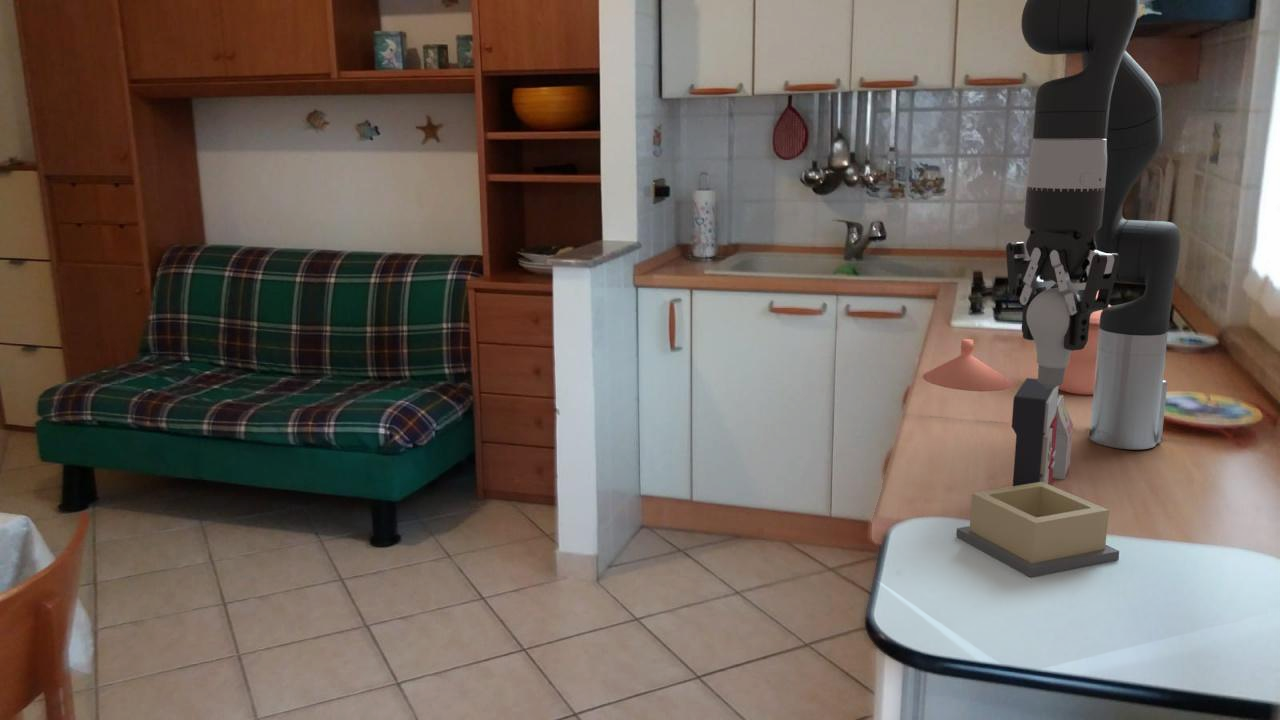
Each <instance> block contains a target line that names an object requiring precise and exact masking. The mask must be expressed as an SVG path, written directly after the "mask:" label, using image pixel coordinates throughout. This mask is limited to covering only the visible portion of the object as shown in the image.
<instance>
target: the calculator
mask: <svg viewBox="0 0 1280 720" xmlns="http://www.w3.org/2000/svg"><path fill="white" fill-rule="evenodd" d="M1058 398H1059V389H1058V386H1056V387H1055V388H1054V389H1047V388H1045V387H1044V385H1042V384H1040V383H1039V381H1038V378H1028V377H1027V378H1025V380H1024V382H1023V383H1022V384H1021V386H1020V388H1019V389H1018V391H1017V392H1016V393H1015V395H1014V396H1013V403H1012V404H1013V405H1012V417H1011V418H1012V419H1011V428H1012V430H1013V431H1014V433H1015V435H1016V437H1015V449H1014V461H1013V462H1014V464H1013V476H1012V486H1018V485H1024V484H1030V483H1037V482H1044V483H1046V484H1049V485H1051V486H1053V479H1054V478H1053V467H1054V464H1055V461H1054V456H1055V454H1056V451H1055V443H1056V431H1057V417H1055V415H1056V411H1057V400H1058Z"/></svg>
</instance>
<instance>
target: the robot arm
mask: <svg viewBox="0 0 1280 720" xmlns="http://www.w3.org/2000/svg"><path fill="white" fill-rule="evenodd" d="M1153 1H1154V0H1026V2H1025V4H1024V7H1023V10H1022V15H1021V32H1022V36H1023V39H1024V40H1025V43H1026V44H1027V45H1028V47H1029V48H1031V50H1033V51H1034V52H1036V53H1039V54H1041V55H1049V56H1050V55H1054V56H1055V55H1067V54H1068V55H1069V54H1070V55H1072V54H1075V55H1076V54H1081V63H1082V70H1081V71H1080V72H1077V73H1075V74H1071V75H1069V76H1065V77H1059V78H1056V79H1050V80H1049V81H1046V82H1044V83H1042V84H1041V85H1040V86H1039V87H1038V89H1037V92H1036V97H1035V103H1034V104H1035V105H1034V120H1033V132H1032V133H1033V134H1032V138H1033V140H1032V143H1031V150H1030V153H1029V158H1028V159H1029V160H1028V166H1027V178H1026V179H1027V181H1026V192H1025V193H1026V194H1025V204H1024V205H1025V206H1024V218H1023V219H1024V220H1023V223H1024V227H1025V228H1026V229H1027V230H1029V231H1030V233H1029V235H1028V238H1027V239H1026V241H1017V242H1016V241H1014V242H1008V243H1006V246H1005V254H1006V268H1007V283H1008V295H1009V296H1010V297H1011V298H1017V299H1018V300H1019V302H1020V304H1021V305H1022V320H1021V332H1022V338H1023V339H1024V340H1027V341H1034V338H1033V336H1032V334H1031V332H1030V329H1029V327H1028V324H1027V318H1026V315H1027V310H1028V307H1029V305H1030V303H1031V301H1032V300H1033V299H1034V298H1035V297H1036V296H1037V295H1038V294H1039V293H1041V292H1043V291H1045V290H1048V289H1051V288H1052V287H1054V286H1055V285H1056V283H1057V286H1058V287H1057V288H1059V291H1060V293H1061V294H1063V295H1064V297H1065V301H1066V306H1067V310H1068V313H1069V314H1070V315H1069V319H1070V321H1069V327H1068V330H1067V332H1066V334H1065V336H1064V348H1065V349H1067V350H1071V351H1073V350H1081V349H1083V348H1084V347H1085V345H1086V343H1087V341H1088V332H1089V321H1090V315H1091V314H1092V313H1093V312H1096V311H1100V310H1103V311H1102V312H1101V315H1100V324H1099V335H1098V346H1097V347H1098V348H1097V358H1096V369H1095V380H1094V391H1093V395H1092V404H1091V415H1090V423H1089V424H1090V426H1089V439H1090V441H1092V442H1094V443H1096V444H1098V445H1101V446H1105V447H1108V448H1115V449H1122V450H1123V449H1124V450H1148V449H1151V448H1154V447H1156V445H1157V444H1161V443H1162V438H1163V429H1164V420H1165V410H1166V400H1167V399H1166V398H1167V391H1168V382H1167V380H1164V374H1165V364H1166V354H1167V345H1168V344H1167V343H1168V334H1169V325H1170V319H1171V312H1172V303H1173V295H1174V294H1173V293H1174V287H1175V282H1176V275H1177V270H1178V264H1179V258H1180V250H1181V235H1180V231H1179V228H1178V226H1177V225H1176V224H1175V223H1173V222H1171V221H1170V222H1169V221H1161V220H1160V221H1159V220H1157V221H1156V220H1140V219H1139V220H1138V219H1137V220H1134V219H1125V218H1124V216H1123V206H1124V205H1123V204H1124V202H1125V200H1126V198H1127V197H1128V195H1129V193H1130V191H1131V190H1132V188H1133V186H1134V185H1135V184H1136V182H1137V181H1138V180H1139V178H1140V177H1141V176H1142V175H1143V173H1144V172H1145V171H1146V169H1147V168H1148V167H1149V165H1150V164H1151V163H1152V161H1153V159H1154V158H1155V157H1156V155H1157V153H1158V151H1159V149H1160V147H1161V144H1162V141H1163V118H1162V117H1163V116H1162V114H1163V112H1162V97H1161V94H1160V92H1159V89H1158V87H1157V85H1156V84H1155V83H1154V80H1152V78H1151V77H1150V76H1149V74H1148V73H1147V72H1146V71H1145V70H1144V69H1143V68H1142V67H1141V66H1140V64H1139V63H1137V61H1136V60H1135V59H1134V58H1133V57H1132V56H1131V55H1130V54H1129V53H1128V52H1127V50H1126V49H1127V46H1128V44H1129V42H1130V40H1131V36H1132V34H1133V31H1134V29H1135V26H1136V23H1137V19H1138V17H1139V16H1138V15H1139V10H1140V5H1143V4H1147V3H1150V2H1153ZM1020 275H1021V282H1022V283H1021V284H1020V277H1019V276H1020ZM1077 281H1078V282H1079V283H1077ZM1115 283H1120V284H1121V283H1122V284H1130V285H1143V286H1144V285H1145V290H1144V292H1143V294H1142V295H1141V296H1140V297H1137V298H1136V299H1134V300H1131V301H1129V302H1125V303H1121V304H1114V305H1111V306H1110V307H1108V305H1110V301H1111V297H1112V294H1113V289H1114V286H1115ZM1098 290H1099V292H1098ZM1097 292H1098V297H1097V299H1096V295H1097ZM1076 293H1077V294H1078V295H1079V297H1080V302H1078V299H1077V294H1076Z"/></svg>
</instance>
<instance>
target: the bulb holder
mask: <svg viewBox="0 0 1280 720" xmlns="http://www.w3.org/2000/svg"><path fill="white" fill-rule="evenodd" d="M970 505H971V507H970V519H969V520H970V521H969V525H968V526H963V527H957V528H956V533H955V534H956V536H957V537H956V538H958V537H959V538H958V539H959V540H961V539H962V541H964V542H965V543H967V544H969V545H971V546H973V547H974V548H976V549H978V550H979V551H982V552H983V553H985V554H987V555H989V556H991V557H992V558H994V559H996V560H998V561H1000V562H1002V563H1003V564H1005V565H1007V566H1009V567H1010V568H1013V569H1015V570H1017V571H1018V572H1020V573H1021V574H1024V575H1025V576H1027V577H1029V578H1034V577H1039V576H1040V577H1041V576H1044V575H1049V574H1054V573H1059V572H1064V571H1068V570H1074V569H1075V570H1076V569H1078V568H1084V567H1089V566H1093V565H1099V564H1103V563H1104V564H1105V563H1109V562H1113V561H1119V560H1120V559H1119V558H1120V550H1118V549H1116V548H1114V547H1111V546H1109V545H1107V544H1106V542H1107V533H1108V531H1107V530H1108V522H1109V515H1110V514H1109V513H1110V510H1109V509H1107V508H1105V507H1103V506H1101V505H1098V504H1096V503H1093V502H1091V501H1089V500H1086V499H1084V498H1082V497H1079V496H1077V495H1075V494H1072V493H1071V492H1070V493H1069V492H1068V491H1066V490H1063V489H1060V488H1059V487H1055V486H1053V485H1052V486H1051V485H1049V484H1046V483H1044V482H1037V483H1030V484H1024V485H1018V486H1013V485H1012V486H1006V487H1000V488H994V489H988V490H982V491H975V492H972V493H971V503H970Z"/></svg>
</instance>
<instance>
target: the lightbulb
mask: <svg viewBox="0 0 1280 720" xmlns="http://www.w3.org/2000/svg"><path fill="white" fill-rule="evenodd" d="M1076 294H1077V299H1078V302H1080V297H1079V294H1078V293H1076ZM1069 315H1070V314H1069V313H1068V310H1067V306H1066V301H1065V297H1064V295H1063V294H1061V293H1060V291H1059V287H1053V288H1052V287H1051V288H1050V289H1048V290H1045V291H1043V292H1041V293H1039V294H1038V295H1037V296H1036V297H1035V298H1034V299H1033V300H1032V301H1031V303H1030V305H1029V307H1028V310H1027V315H1026V318H1027V324H1028V327H1029V329H1030V332H1031V334H1032V336H1033V338H1034V340H1033V341H1034V344H1035V348H1036V363H1037V364H1038V370H1037V373H1038V374H1037V379H1038V381H1039V383H1040V384H1042V385H1044V387H1045V388H1047V389H1054V388H1055V387H1056V386H1059V385H1061V384H1062V383H1063V379H1064V373H1065V367H1066V366H1067V365H1068V362H1069V357H1070V354H1071V350H1067V349H1065V348H1064V336H1065V334H1066V332H1067V330H1068V327H1069V321H1070V319H1069Z"/></svg>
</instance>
